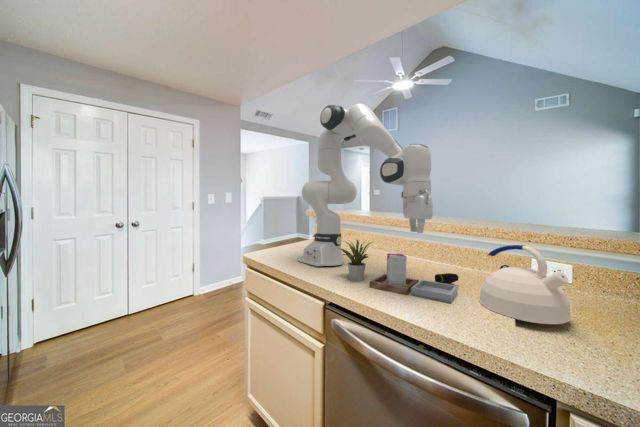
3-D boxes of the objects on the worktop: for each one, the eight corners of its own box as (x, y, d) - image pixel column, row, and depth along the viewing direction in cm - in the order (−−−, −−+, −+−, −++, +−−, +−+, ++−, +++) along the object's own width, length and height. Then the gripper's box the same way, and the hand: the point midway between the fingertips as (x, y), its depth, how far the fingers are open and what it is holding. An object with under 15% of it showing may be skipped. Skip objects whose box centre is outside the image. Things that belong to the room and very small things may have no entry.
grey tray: (411, 295, 82) (411, 287, 82) (421, 286, 91) (421, 279, 91) (450, 303, 75) (451, 295, 75) (457, 293, 84) (457, 285, 84)
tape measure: (460, 283, 91) (458, 272, 92) (445, 285, 89) (443, 274, 90) (446, 282, 97) (444, 272, 98) (432, 285, 95) (430, 274, 96)
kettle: (536, 330, 59) (537, 253, 59) (462, 299, 79) (464, 241, 79) (593, 320, 65) (595, 249, 64) (511, 293, 85) (512, 239, 84)
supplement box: (406, 289, 88) (407, 256, 88) (389, 288, 89) (389, 256, 88) (402, 284, 94) (402, 253, 94) (385, 283, 94) (386, 253, 94)
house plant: (364, 273, 110) (364, 235, 109) (384, 281, 97) (384, 239, 96) (334, 276, 104) (334, 236, 104) (351, 285, 91) (351, 240, 91)
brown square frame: (369, 287, 90) (369, 281, 90) (384, 279, 100) (384, 274, 100) (406, 295, 82) (406, 289, 82) (418, 285, 92) (418, 279, 92)
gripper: (438, 188, 76) (438, 235, 76) (417, 194, 96) (416, 230, 96) (417, 188, 76) (416, 234, 76) (400, 194, 97) (399, 230, 96)
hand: (416, 232), depth 86 cm, fingers open, 5 cm apart
